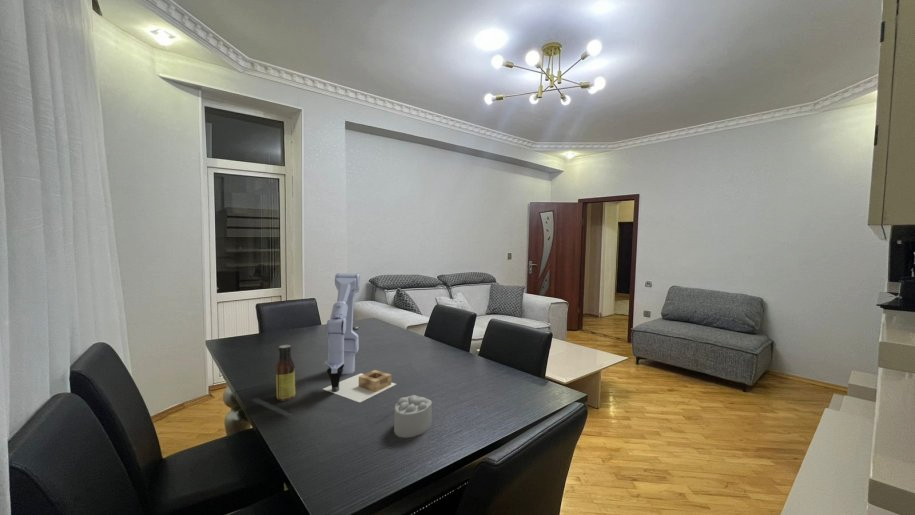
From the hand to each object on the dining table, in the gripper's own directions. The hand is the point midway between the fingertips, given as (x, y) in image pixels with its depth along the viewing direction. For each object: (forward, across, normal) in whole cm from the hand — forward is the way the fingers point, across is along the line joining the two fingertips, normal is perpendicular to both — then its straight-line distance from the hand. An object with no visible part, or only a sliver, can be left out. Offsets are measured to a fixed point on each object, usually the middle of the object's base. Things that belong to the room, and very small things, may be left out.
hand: (335, 385), depth 138 cm
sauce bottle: (+3, +3, -17) cm, 18 cm away
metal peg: (+2, 0, 0) cm, 2 cm away
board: (+3, -2, +9) cm, 10 cm away
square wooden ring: (+2, -2, +15) cm, 15 cm away
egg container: (+3, +30, +26) cm, 39 cm away
